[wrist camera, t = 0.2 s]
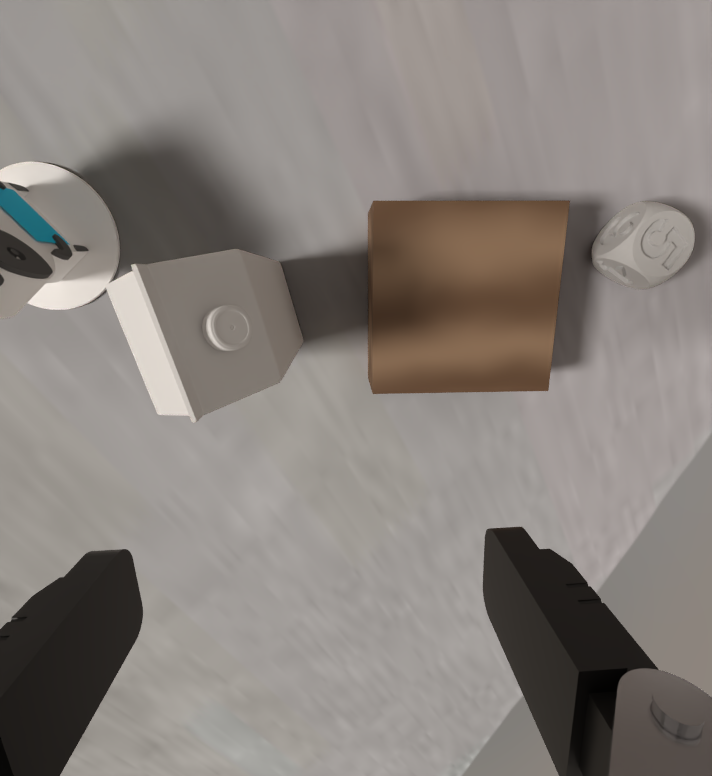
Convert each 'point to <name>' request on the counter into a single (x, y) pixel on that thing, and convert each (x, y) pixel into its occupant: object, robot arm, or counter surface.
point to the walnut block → (463, 294)
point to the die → (644, 245)
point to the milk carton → (207, 328)
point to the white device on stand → (53, 239)
